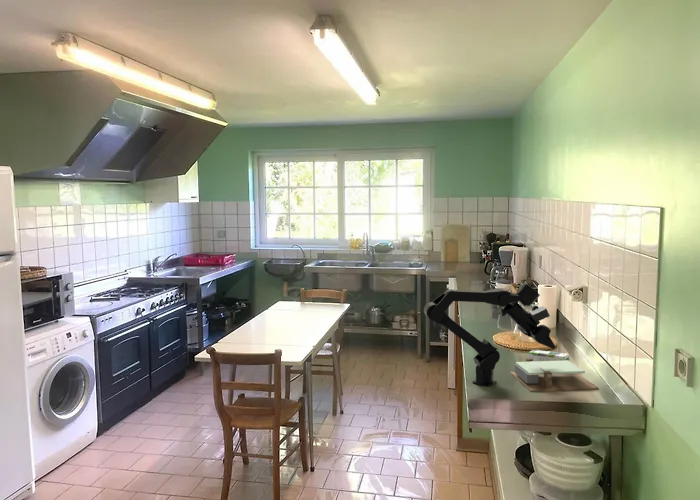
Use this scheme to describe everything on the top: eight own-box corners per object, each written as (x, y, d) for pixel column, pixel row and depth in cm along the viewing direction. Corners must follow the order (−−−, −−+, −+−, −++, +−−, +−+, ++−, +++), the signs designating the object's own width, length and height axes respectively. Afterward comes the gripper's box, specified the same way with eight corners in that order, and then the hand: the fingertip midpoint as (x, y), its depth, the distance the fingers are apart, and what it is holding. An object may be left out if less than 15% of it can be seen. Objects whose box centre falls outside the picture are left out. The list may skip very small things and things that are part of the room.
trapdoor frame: (530, 391, 187) (530, 374, 187) (509, 373, 209) (509, 357, 209) (598, 389, 188) (598, 372, 187) (571, 370, 210) (571, 355, 209)
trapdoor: (527, 384, 191) (527, 372, 191) (514, 372, 205) (514, 361, 205) (584, 382, 192) (584, 370, 191) (567, 370, 206) (567, 359, 205)
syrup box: (534, 349, 222) (569, 352, 212) (534, 363, 222) (570, 367, 212) (527, 352, 218) (563, 355, 208) (528, 366, 218) (564, 371, 208)
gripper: (545, 304, 187) (576, 334, 188) (526, 296, 206) (554, 324, 207) (522, 327, 187) (553, 357, 188) (505, 316, 206) (534, 344, 207)
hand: (549, 344), depth 198 cm, fingers open, 9 cm apart
